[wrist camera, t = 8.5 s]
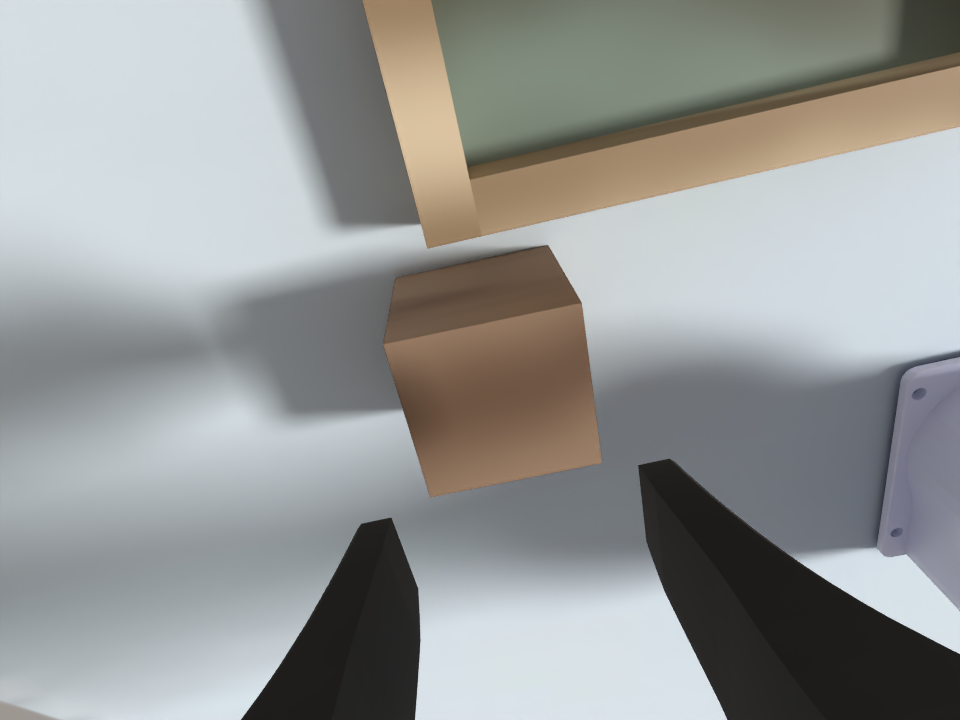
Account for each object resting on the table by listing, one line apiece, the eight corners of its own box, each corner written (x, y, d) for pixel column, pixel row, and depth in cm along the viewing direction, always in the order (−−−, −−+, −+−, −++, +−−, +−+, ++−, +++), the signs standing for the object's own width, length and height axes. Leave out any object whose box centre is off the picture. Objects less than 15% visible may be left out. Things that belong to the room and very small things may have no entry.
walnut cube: (567, 377, 21) (602, 463, 17) (431, 405, 21) (430, 497, 17) (547, 244, 19) (581, 302, 14) (395, 277, 19) (383, 344, 15)
